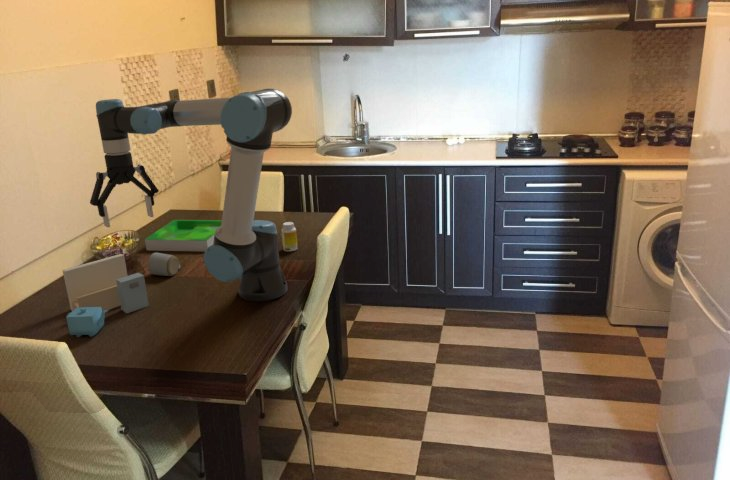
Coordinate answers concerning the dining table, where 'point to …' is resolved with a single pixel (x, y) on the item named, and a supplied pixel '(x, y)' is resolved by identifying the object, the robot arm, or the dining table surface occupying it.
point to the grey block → (132, 292)
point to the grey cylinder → (163, 264)
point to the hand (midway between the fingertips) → (129, 221)
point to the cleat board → (95, 283)
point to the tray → (184, 236)
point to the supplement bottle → (289, 237)
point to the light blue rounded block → (85, 321)
